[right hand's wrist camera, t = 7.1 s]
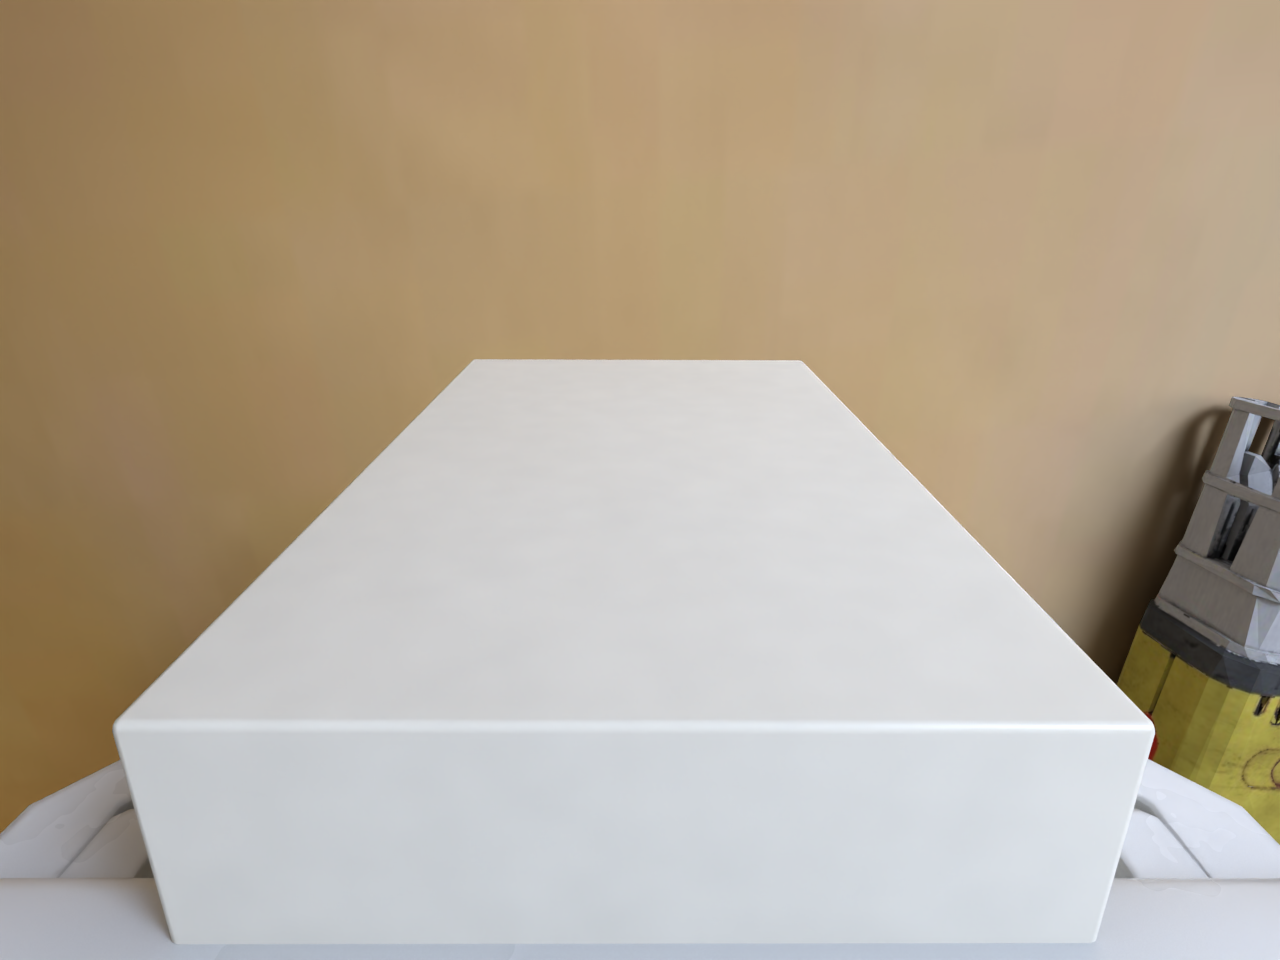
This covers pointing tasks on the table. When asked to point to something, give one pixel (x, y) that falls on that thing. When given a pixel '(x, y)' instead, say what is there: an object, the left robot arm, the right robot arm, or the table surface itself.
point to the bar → (634, 693)
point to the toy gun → (1221, 630)
